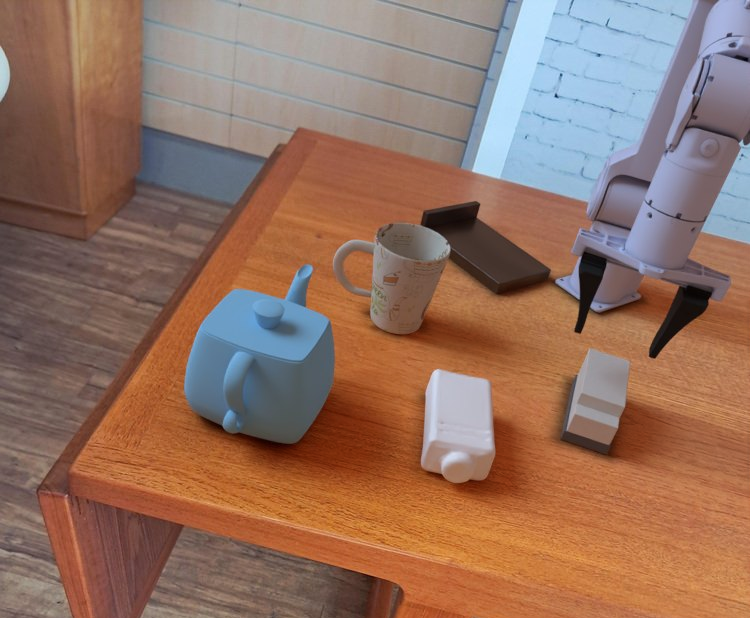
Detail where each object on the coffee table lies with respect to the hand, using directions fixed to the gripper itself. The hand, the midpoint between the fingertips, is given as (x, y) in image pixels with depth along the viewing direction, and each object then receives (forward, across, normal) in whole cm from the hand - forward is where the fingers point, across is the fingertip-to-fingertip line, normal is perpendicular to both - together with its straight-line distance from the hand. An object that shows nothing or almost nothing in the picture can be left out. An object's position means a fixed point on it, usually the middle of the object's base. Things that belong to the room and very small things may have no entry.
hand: (615, 341), depth 78 cm
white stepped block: (+10, +1, +1) cm, 10 cm away
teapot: (+11, -30, -15) cm, 36 cm away
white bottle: (+10, -12, -11) cm, 19 cm away
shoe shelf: (+7, -18, +28) cm, 34 cm away
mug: (+9, -26, +6) cm, 28 cm away
